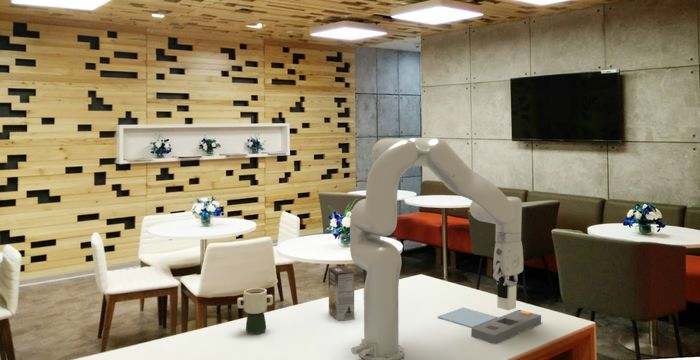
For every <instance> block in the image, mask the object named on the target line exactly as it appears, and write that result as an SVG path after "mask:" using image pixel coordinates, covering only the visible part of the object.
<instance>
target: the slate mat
mask: <svg viewBox="0 0 700 360" xmlns="http://www.w3.org/2000/svg"><path fill="white" fill-rule="evenodd" d="M437 318H438V319H441V320H444V321H446V322H450V323H454V324H457V325H460V326H463V327H466V328H470V329H471V328H474V327H476V326H479V325H481V324H484V323H486V322H489V321H491V320H494V319H496V318H499V316H496V315H492V314H488V313H485V312H481V311H477V310H474V309H470V308H466V307H460V308H457V309H455V310H453V311H449V312H446V313H444V314H440V315H437Z"/></svg>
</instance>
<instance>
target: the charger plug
mask: <svg viewBox="0 0 700 360" xmlns="http://www.w3.org/2000/svg"><path fill="white" fill-rule="evenodd" d="M517 283H518V281H517V282H513V281H508V279H507V284H506V285H508V296H507V298H506V299H505V298H501V297H498V296H497V303H496V304H497V305H496V307H497V308H498V309H502V310H505V311H511V310H514V309H516V308H517V285H518V284H517Z"/></svg>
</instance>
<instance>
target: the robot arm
mask: <svg viewBox="0 0 700 360" xmlns="http://www.w3.org/2000/svg"><path fill="white" fill-rule="evenodd" d="M371 157H372V159H373V162H374V163H373V164H372V165H371V168H370V170H369V172H368V175H367V179H366V190H365V192H366V193H365V198H363V199H360V200H359V201H357V202H356V203H355V205H353V208H352V209H351V212H350V218H349V219H350V221H349V222H350V223H349V239H350V240H349V243H350V244H349V248H350V249H349V250H350V251H349V252H350V256H351V260H352V262H353V263H354V264H355V265H356V266H357V267H359V268H361V269H362V270H364V271H366V277H365V281H364V283H363V284H364V286H363V336H364V337H363V338H361V343H360V344H359V345H357V346H353V347H352V348H351V349H350V350H351V354H352V355H354V356H355V355H359V357H361V359H364V360H400V359H402V358H403V357H404V356H405V349H404V347H403V346H402V345H400V344H399V342H400V340H399V337H400V335H399V332H400V331H399V327H400V326H399V322H400V321H399V285H400V284H399V283H400V275H401V270H402V255H401V252H400V251H399V250H398V248H397V246H395V245H394V244H393V243H391V242H389V241H386V240H383V239H381V237H387V236H390V235H392V234H393V233H394V232H395V230H396V228H397V224H398V190H399V189H398V188H399V183H400V181H401V178H402V177H403V175H404V174H405V172H407V171H408V170H409V169H410V168H411V167H426V168H428V169H429V170H430V171H431V172H432V173H433V174H434V175H435V176H436V177H437V178H438V179H439V180H440V181H441V183H442V184H444V186H445V187H446V188H448V190H450V191H451V192H452V193H455V194H456V195H458V196H460V197H463V198H466V199H468V200H470V201H471V203H470V205H469V212H470V215H471V216H472V217H473V218H474V219H475V220H477V221H479V222H483V223H490V224H492V225H495V244H494V251H493V261H492V264H493V265H492V269H493V274H492V277H493V279H494V280H495V282H496V284H497V293H496V294H497V298H498V297H501V298H505V299H506V298H507V296H508V285H506V284H507V280H508V281H513V282H517V283H518V281H519V279H518V278H519V276H520V273H522V272H523V271H524V249H523V243H522V217H523V216H522V215H523V214H522V213H523V202H522V199H521V198H520V197H517V196H506V194H505V193H504V192H502V190H501V189H499V187H497V186H496V185H495V184H493V183H492V182H491V181H490V180H487V179H486V178H485V177H483V176H482V175H480V174H479V173H477V172H476V171H474V170H472V168H471V167H469V166H468V165H467V164H466V162H464V160H463V159H462V158H461V157H460V156H459V155H458V154H457V153H456V152H455V151H454V150H453V149H452V147H451V146H450V145H449V144H448V143H447V142H446V141H445V140H443V139H442V138H439V137H410V138H406V137H405V138H403V137H402V138H398V137H396V138H390V137H389V138H382V139H379V140H378V141H376V143H375V144H374V145H373V146H372V150H371Z"/></svg>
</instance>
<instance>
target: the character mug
mask: <svg viewBox="0 0 700 360" xmlns="http://www.w3.org/2000/svg"><path fill="white" fill-rule="evenodd" d="M268 298H269V302H268ZM236 301H237V303H236V304H237V308H238V309H243V310H244V312H245V313H246V315H247V316H246V324H245V331H246V332H248V333H251V334H260V333H263V332H265V331H266V330H267V323H266V322H267V321H266V318H265V317H266V316H265V312H267V308H268V306H272V305H273V304H274V296H273V294H267V289H266V288H263V287H250V288H247V289H245V290H244V291H243V296H242V297H238V298H237V300H236ZM241 302H243V304H242V303H241Z"/></svg>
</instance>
